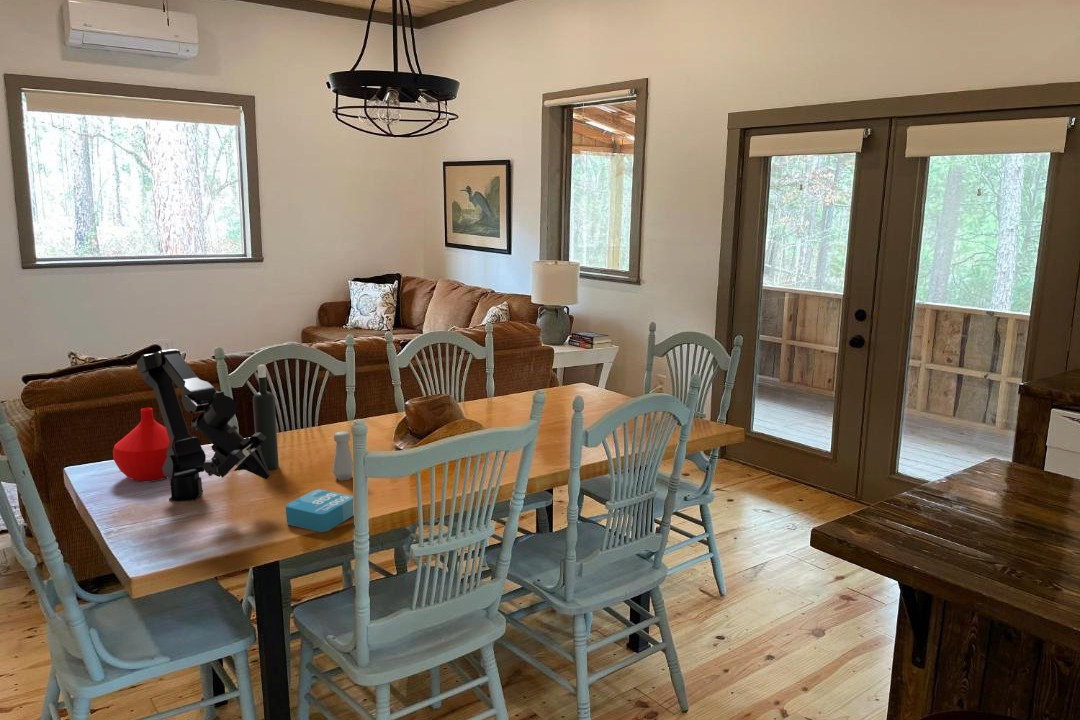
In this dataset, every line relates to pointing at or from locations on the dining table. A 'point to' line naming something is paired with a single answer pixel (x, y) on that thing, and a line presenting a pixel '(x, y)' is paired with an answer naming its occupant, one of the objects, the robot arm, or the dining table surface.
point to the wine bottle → (266, 421)
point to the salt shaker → (342, 456)
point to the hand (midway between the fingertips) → (268, 477)
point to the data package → (319, 510)
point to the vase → (143, 450)
